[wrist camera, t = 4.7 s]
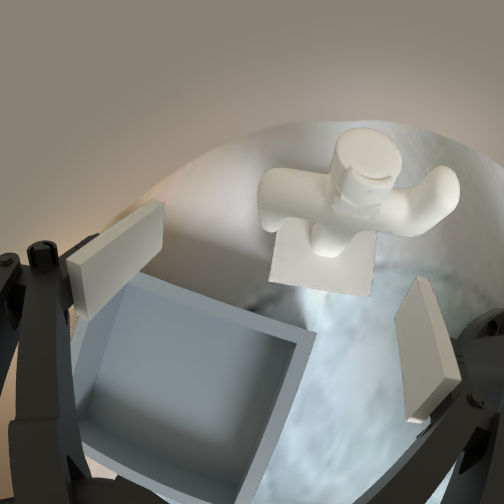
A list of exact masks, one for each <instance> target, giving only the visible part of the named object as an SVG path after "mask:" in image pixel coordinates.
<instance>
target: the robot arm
mask: <svg viewBox="0 0 504 504" xmlns="http://www.w3.org/2000/svg"><path fill="white" fill-rule="evenodd" d="M164 209H165V203H163V202H159V201H156V200H151V201H149V202H148V203H146V204H145V205H143V206H142V207H140V208H139V209H137V210H135V211H134V212H132V213H131V214H129V215H128V216H126V217H125V218H123V219H122V220H120V221H119V222H117V223H116V224H115V225H113V226H112V227H110V228H109V229H107V230H106V231H104V232H103V233H101V234H99V233H97V234H94V235H91V236H88V237H87V238H86V239H84V240H82V241H81V242H80V243H78V244H77V245H75V247H73V248H71V249H70V250H68V251H67V252H65V253H64V254H63V255H61V256H60V257H58V251H57V246H56V244H55V243H54V242H52V241H38V242H36V243H33V244H32V245H31V246H29V247H28V249H27V255H28V259H29V265H30V266H28V265H22V264H21V263H20V259H19V256H18V255H17V254H16V253H5V254H2V255H0V396H1V392H2V389H3V385H4V382H5V379H6V376H7V372H8V370H9V366H10V364H11V361H12V358H13V355H14V352H15V349H16V346H17V344H18V341H19V345H18V357H17V372H16V417H15V420H12V421H10V423H9V426H8V439H9V440H8V441H9V457H10V468H11V477H12V485H13V492H14V497H11V498H6V499H1V500H0V504H169V503H168V502H166V501H165V500H163V499H162V498H161V497H159V496H158V495H156V494H155V493H154V492H152V491H151V490H149V489H147V488H144V487H142V486H140V485H138V484H136V483H134V482H132V481H130V480H128V479H126V478H124V477H122V476H120V475H117V477H116V478H115V480H113V479H107V478H95V477H94V478H92V476H91V473H90V470H89V467H88V464H87V462H86V459H85V456H84V452H83V447H82V442H81V436H80V430H79V424H78V417H77V410H76V403H75V395H74V385H73V375H72V363H71V347H70V316H69V311H68V309H69V308H70V307H71V306H72V305H73V304H74V308H75V313H76V315H78V316H80V317H82V318H84V319H86V320H88V321H90V320H91V319H92V318H93V317H94V316H95V315H96V314H97V313H98V312H99V311H100V310H101V309H102V308H103V307H104V306H105V305H106V304H107V303H108V302H109V301H110V300H111V299H112V298H113V297H114V296H115V295H116V294H117V293H118V292H119V291H120V290H121V289H122V288H123V287H124V286H125V285H126V284H127V283H128V282H129V281H130V280H131V279H132V278H133V277H134V276H135V275H136V274H137V273H138V272H139V271H140V270H141V269H142V268H143V267H144V266H145V265H146V264H147V263H148V262H149V261H150V260H151V259H152V258H153V257H154V256H155V255H156V254H157V253H158V252H160V251H161V250H162V243H163V225H164ZM394 319H395V325H396V332H397V339H398V346H399V353H400V361H401V370H402V379H403V389H404V400H405V414H406V422H413V423H420V424H422V423H423V422H424V421H425V420H426V419H427V418H428V417H429V416H430V418H431V424H430V425H429V426H428V427H427V428H426V429H425V430H423V431H422V432H421V433H420V434H419V435H418V436H417V437H416V438H417V439H416V441H415V442H414V443H413V444H412V445H411V446H410V447H409V449H408V450H407V451H406V452H405V453H404V454H403V455H402V456H401V457H400V458H399V459H398V461H397V462H396V463H395V464H394V465H393V466H392V467H391V468H390V469H389V470H388V471H387V472H386V473H385V474H384V475H383V476H382V477H381V478H380V479H379V480H378V481H377V482H376V483H375V484H374V485H372V486H371V487H370V488H369V489H368V490H367V491H366V492H365V493H364V494H363V495H362V496H361V497H359V498H358V499H357V500H356V501H355V502H354V503H353V504H425V503H426V502H427V500H428V499H429V498H430V497H431V495H432V494H433V493H434V491H435V490H436V489H437V487H438V486H439V485H440V483H441V482H442V480H443V479H444V478H445V476H446V475H447V473H448V472H449V470H450V469H451V467H452V466H453V464H454V463H455V461H456V460H457V461H456V464H455V467H454V470H453V473H452V476H451V478H450V481H449V484H448V486H447V489H446V491H445V494H444V496H443V498H442V501H441V503H440V504H504V308H501V309H496V310H492V311H489V312H487V313H485V314H483V315H481V316H479V317H478V318H477V319H475V320H474V321H473V322H472V323H471V324H469V325H468V326H467V328H466V329H465V330H464V331H463V332H462V333H461V335H460V336H459V337H458V339H457V340H455V339H454V338H450V337H449V334H448V331H447V328H446V325H445V322H444V319H443V316H442V313H441V311H440V308H439V305H438V302H437V299H436V297H435V294H434V291H433V289H432V286H431V283H430V281H429V279H426V278H422V277H419V276H416V277H415V279H414V281H413V283H412V285H411V287H410V289H409V291H408V293H407V295H406V297H405V299H404V301H403V303H402V305H401V307H400V308H399V310H398V312H397V314H396V316H395V318H394Z"/></svg>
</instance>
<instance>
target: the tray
mask: <svg viewBox="0 0 504 504" xmlns="http://www.w3.org/2000/svg"><path fill="white" fill-rule="evenodd" d="M316 335H317V333H316V332H312V331H309V330H306V329H303V328H300V327H296V326H293V325H290V324H287V323H284V322H281V321H277V320H274V319H271V318H268V317H265V316H262V315H259V314H256V313H253V312H250V311H247V310H244V309H241V308H238V307H235V306H232V305H229V304H227V303H224V302H221V301H218V300H215V299H212V298H209V297H207V296H204V295H201V294H198V293H196V292H193V291H190V290H187V289H185V288H182V287H179V286H176V285H174V284H171V283H168V282H166V281H163V280H160V279H158V278H155V277H153V276H150V275H147V274H145V273H142V272H140V271H139V272H138V273H137V274H136V275H135V276H134V277H133V278H132V279H131V280H130V281H129V282H128V283H127V284H126V285H125V286H124V287H123V288H122V289H121V290H120V291H119V292H118V293H117V294H116V295H115V296H114V297H113V298H112V299H111V300H110V301H109V302H108V303H107V304H106V305H105V306H104V307H103V308H102V309H101V310H100V311H99V312H98V313H97V314H96V315H95V316H94V317H93V318H92V319H91V320H90V321H88V320H86V319H84V318H82V317H80V316H79V317H78V320H77V323H76V327H75V330H74V333H73V337H72V340H71V343H70V347H71V363H72V375H73V385H74V395H75V403H76V410H77V417H78V424H79V430H80V436H81V442H82V447H83V452H84V454H85V455H86V456H88V457H90V458H91V459H93V460H95V461H96V462H98V463H100V464H101V465H103V466H105V467H107V468H109V469H110V470H112V471H114V472H116V473H118V474H119V475H121V476H123V477H125V478H127V479H129V480H131V481H133V482H135V483H137V484H139V485H141V486H143V487H145V488H147V489H149V490H152V491H154V492H156V493H158V494H161V495H163V496H165V497H167V498H170V499H172V500H175V501H177V502H180V503H182V504H250V503H251V501H252V499H253V497H254V495H255V492H256V490H257V488H258V486H259V484H260V481H261V479H262V477H263V475H264V472H265V470H266V468H267V465H268V463H269V461H270V458H271V456H272V454H273V451H274V449H275V447H276V444H277V442H278V439H279V437H280V434H281V432H282V429H283V427H284V424H285V422H286V419H287V417H288V414H289V411H290V409H291V406H292V403H293V401H294V398H295V395H296V393H297V390H298V387H299V384H300V382H301V379H302V376H303V373H304V370H305V368H306V365H307V362H308V359H309V356H310V353H311V350H312V347H313V344H314V341H315V338H316Z"/></svg>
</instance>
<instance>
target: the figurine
mask: <svg viewBox="0 0 504 504" xmlns="http://www.w3.org/2000/svg"><path fill="white" fill-rule="evenodd" d="M402 162H403V161H402V156H401V153H400V151H399V149H398V147H397V146H396V144H395V143H394V142H393V141H392V140H391V139H390V138H388V137H387V136H386V135H384V134H382V133H381V132H378V131H376V130H373V129H369V128H353V129H350V130H348V131H346V132H344V133H343V134H342V135H341V136H340V137H339V139H338V141H337V143H336V147H335V151H334V154H333V158H332V161H331V165H330V173H328V174H321V173H315V172H309V171H303V170H296V169H289V168H280V167H279V168H272V169H269V170H268V171H266V172H265V173H264V174H263V176H262V177H261V180H260V182H259V186H258V193H257V202H258V211H259V220H260V224H261V226H262V228H263V229H264V230H266V231H267V232H276V231H277V234H276V240H275V246H274V252H273V258H272V263H271V269H270V275H269V281H268V282H274V283H280V284H286V285H293V286H299V287H305V288H312V289H318V290H325V291H331V292H338V293H344V294H351V295H358V296H365V297H371V291H372V282H373V272H374V260H375V248H376V233H377V232H382V233H388V234H393V235H398V236H404V237H415V236H418V235H421V234H423V233H425V232H426V231H428V230H429V229H431V228H432V227H433V226H435V225H436V224H437V223H438V222H440V221H441V220H442V219H444V218H445V217H446V216H447V215H449V214H450V213H451V212H452V211H453V210H454V209H455V208H456V206H457V204H458V202H459V198H460V185H459V181H458V178H457V176H456V174H455V172H454V171H453V170H452V169H451V168H449V167H448V166H444V165H440V166H437V167H435V168H433V169H432V170H431V171H430V172H429V173H428V175H427V176H426V177H425V178H424V179H423V180H422V181H421V182H420V183H418V184H417V185H415V186H413V187H410V188H407V189H398V188H394V185H395V180H396V178H397V177H398V175H399V173H400V172H401V169H402Z"/></svg>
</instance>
